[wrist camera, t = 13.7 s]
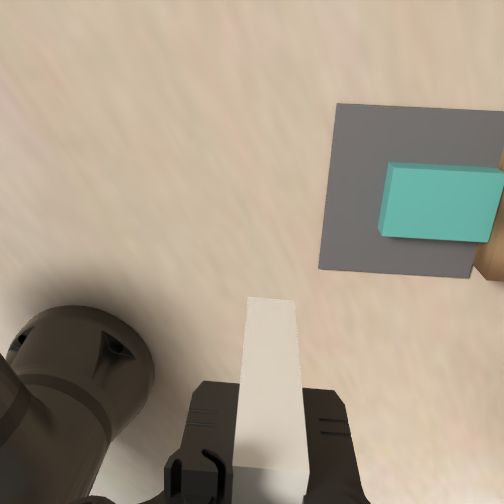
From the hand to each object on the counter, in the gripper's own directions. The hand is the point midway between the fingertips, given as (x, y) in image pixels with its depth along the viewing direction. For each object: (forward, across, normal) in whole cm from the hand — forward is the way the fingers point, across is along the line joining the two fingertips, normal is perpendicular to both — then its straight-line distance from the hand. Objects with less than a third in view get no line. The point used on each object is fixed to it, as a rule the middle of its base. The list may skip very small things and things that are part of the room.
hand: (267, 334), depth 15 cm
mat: (+26, -12, +2) cm, 29 cm away
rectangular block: (+26, -15, +2) cm, 30 cm away
